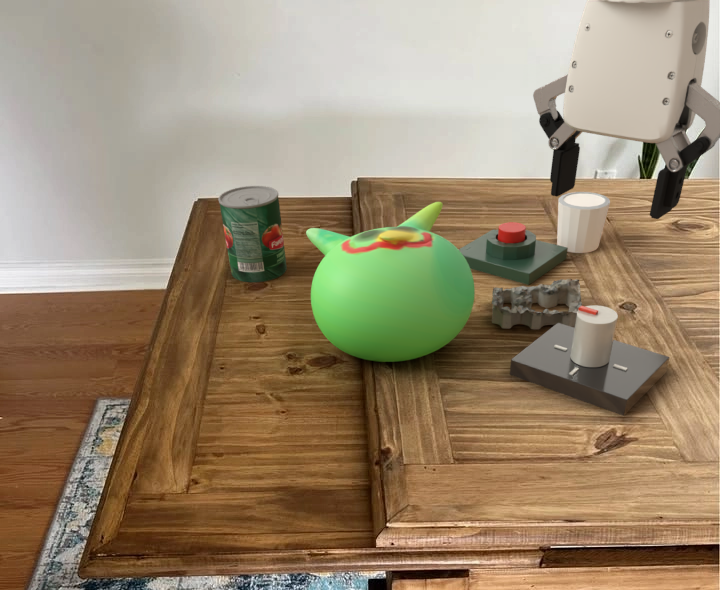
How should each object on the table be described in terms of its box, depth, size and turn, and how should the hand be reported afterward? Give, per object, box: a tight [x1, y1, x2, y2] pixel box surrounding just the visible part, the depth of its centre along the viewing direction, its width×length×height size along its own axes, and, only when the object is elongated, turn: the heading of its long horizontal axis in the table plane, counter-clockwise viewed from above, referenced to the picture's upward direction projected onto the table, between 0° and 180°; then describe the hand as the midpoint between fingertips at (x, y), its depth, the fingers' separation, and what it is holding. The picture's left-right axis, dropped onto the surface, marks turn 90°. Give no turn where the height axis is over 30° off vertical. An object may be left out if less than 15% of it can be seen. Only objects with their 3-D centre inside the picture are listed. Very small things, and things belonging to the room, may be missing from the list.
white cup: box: [556, 191, 611, 254], centre depth 102 cm, size 7×7×7 cm
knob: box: [570, 304, 619, 367], centre depth 75 cm, size 4×4×5 cm
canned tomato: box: [217, 185, 288, 283], centre depth 99 cm, size 8×8×11 cm
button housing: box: [457, 229, 568, 286], centre depth 100 cm, size 12×10×4 cm
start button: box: [497, 221, 527, 243], centre depth 98 cm, size 4×4×2 cm
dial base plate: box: [509, 323, 670, 417], centre depth 77 cm, size 13×10×3 cm
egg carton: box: [491, 278, 583, 330], centre depth 87 cm, size 11×8×4 cm
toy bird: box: [305, 201, 476, 363], centre depth 81 cm, size 18×17×15 cm
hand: (609, 202), depth 66 cm, fingers open, 9 cm apart
